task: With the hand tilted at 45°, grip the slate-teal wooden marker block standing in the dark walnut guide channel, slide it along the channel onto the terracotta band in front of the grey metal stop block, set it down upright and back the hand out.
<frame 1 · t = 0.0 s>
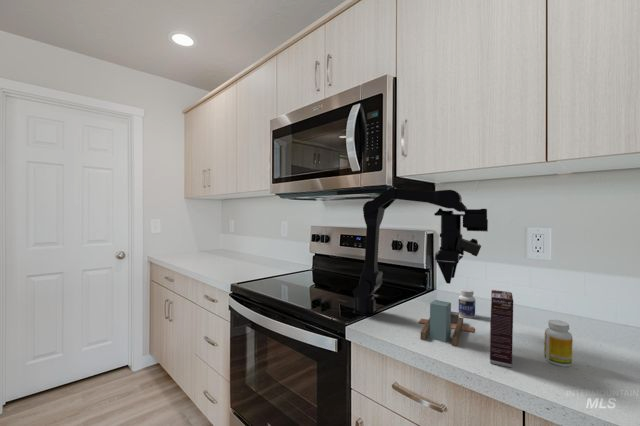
hand: (450, 280, 98), 15 cm above the counter, tool pointing down, fingers open, 9 cm apart
pill bottle: (466, 316, 109), on the counter
supplement bottle: (557, 362, 76), on the counter
marker block: (440, 337, 90), on the counter
guide channel: (443, 331, 95), on the counter
supplement box: (500, 359, 78), on the counter
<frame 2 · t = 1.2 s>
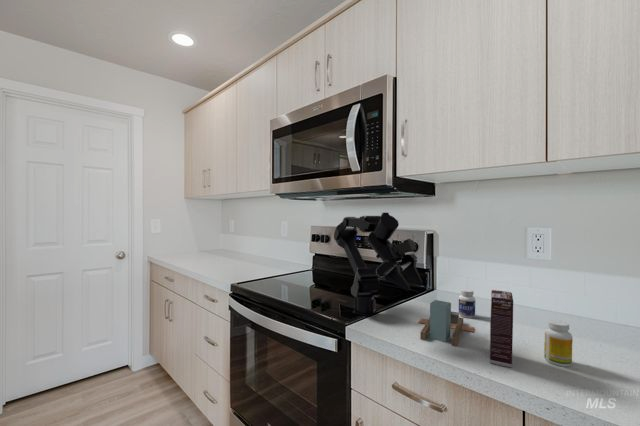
hand: (415, 286, 95), 13 cm above the counter, tool tilted 45°, fingers open, 9 cm apart
nothing on the counter moved.
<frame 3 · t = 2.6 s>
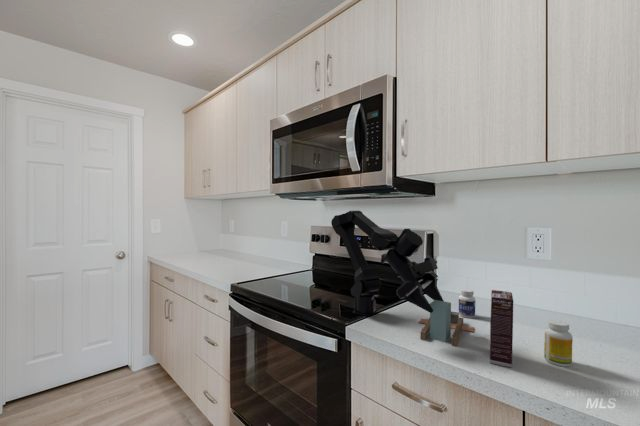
hand: (438, 308, 90), 8 cm above the counter, tool tilted 45°, fingers open, 9 cm apart
nothing on the counter moved.
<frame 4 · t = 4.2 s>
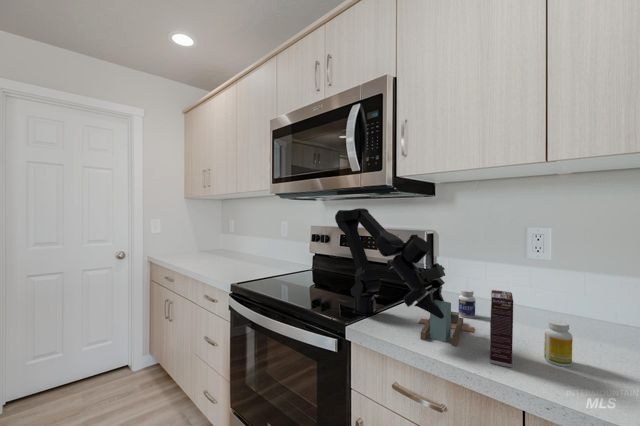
hand: (445, 315, 89), 7 cm above the counter, tool tilted 45°, fingers closed on marker block, 4 cm apart
marker block: (440, 337, 90), on the counter, touching gripper
everything else where it was.
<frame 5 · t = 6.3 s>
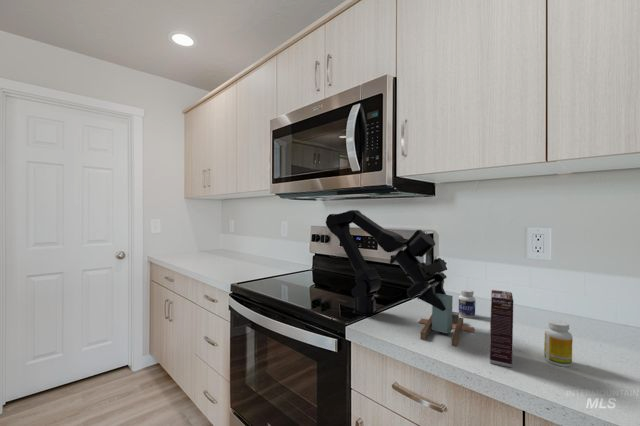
hand: (447, 308, 93), 8 cm above the counter, tool tilted 45°, fingers closed on marker block, 4 cm apart
marker block: (442, 329, 94), point 1 cm above the counter, touching gripper
everything else where it was.
when the fingers open (7 cm above the counter, at t = 8.5 s): marker block stays where it is, resting on guide channel.
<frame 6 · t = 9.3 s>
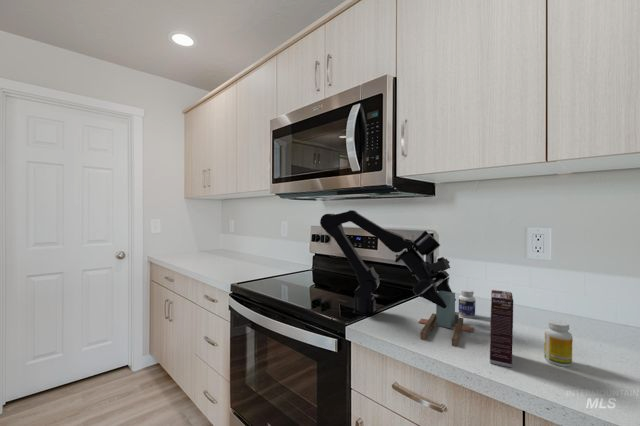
hand: (450, 304, 99), 7 cm above the counter, tool tilted 45°, fingers open, 9 cm apart
marker block: (445, 324, 100), resting on guide channel
everything else where it was.
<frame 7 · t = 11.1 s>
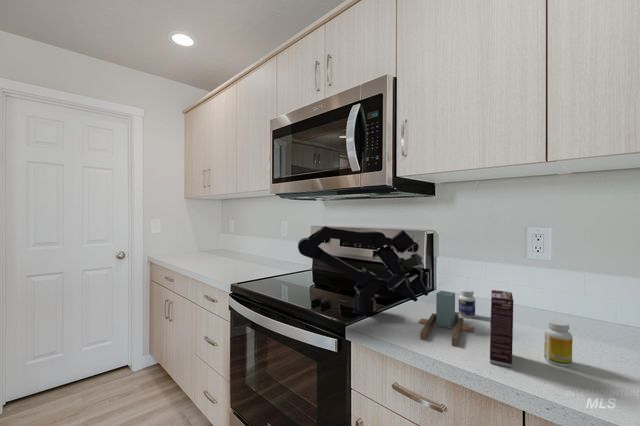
hand: (422, 297, 104), 7 cm above the counter, tool tilted 45°, fingers open, 9 cm apart
nothing on the counter moved.
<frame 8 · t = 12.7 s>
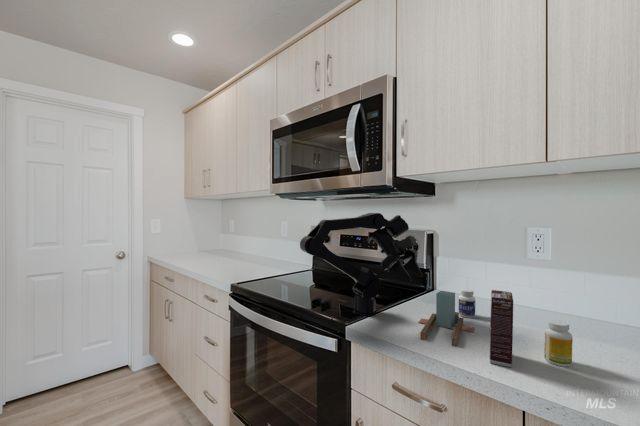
hand: (416, 278, 106), 14 cm above the counter, tool tilted 45°, fingers open, 9 cm apart
nothing on the counter moved.
at the end: marker block 0.5 cm from the target spot, resting on guide channel; marker block tilted 0°; the gripper is holding nothing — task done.
